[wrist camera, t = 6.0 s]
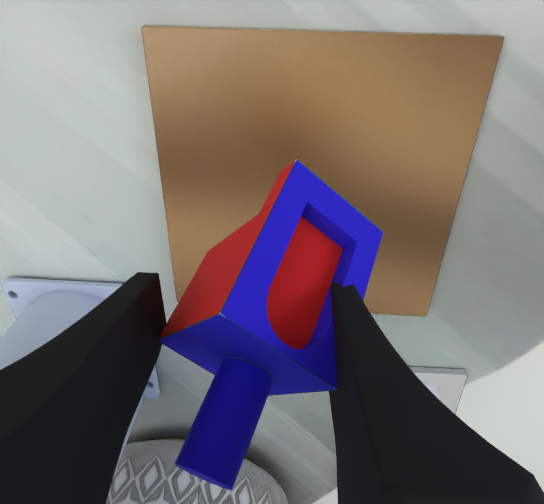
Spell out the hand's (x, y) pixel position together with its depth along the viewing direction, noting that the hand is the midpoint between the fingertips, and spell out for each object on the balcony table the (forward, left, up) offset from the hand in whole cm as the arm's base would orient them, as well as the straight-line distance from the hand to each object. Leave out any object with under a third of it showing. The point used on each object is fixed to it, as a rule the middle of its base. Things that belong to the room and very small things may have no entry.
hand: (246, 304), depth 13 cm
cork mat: (-1, -2, -9) cm, 10 cm away
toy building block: (0, -1, -3) cm, 3 cm away
